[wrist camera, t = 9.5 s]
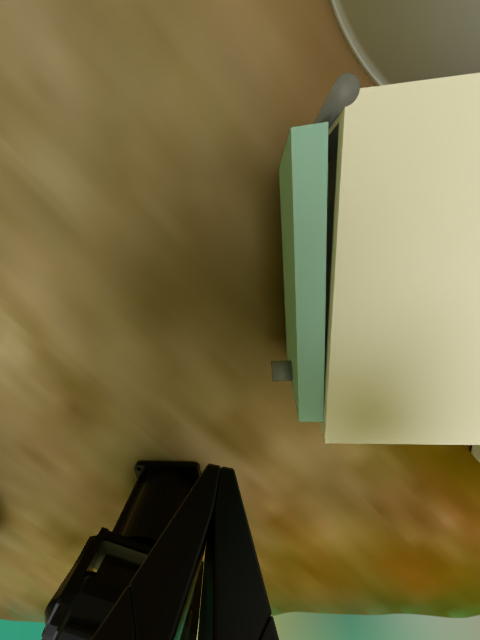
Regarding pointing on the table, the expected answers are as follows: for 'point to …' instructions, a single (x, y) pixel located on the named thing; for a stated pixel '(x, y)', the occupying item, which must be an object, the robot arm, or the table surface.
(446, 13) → the kettle
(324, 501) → the table surface
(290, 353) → the door
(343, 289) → the cupboard
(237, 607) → the robot arm
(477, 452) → the milk carton
